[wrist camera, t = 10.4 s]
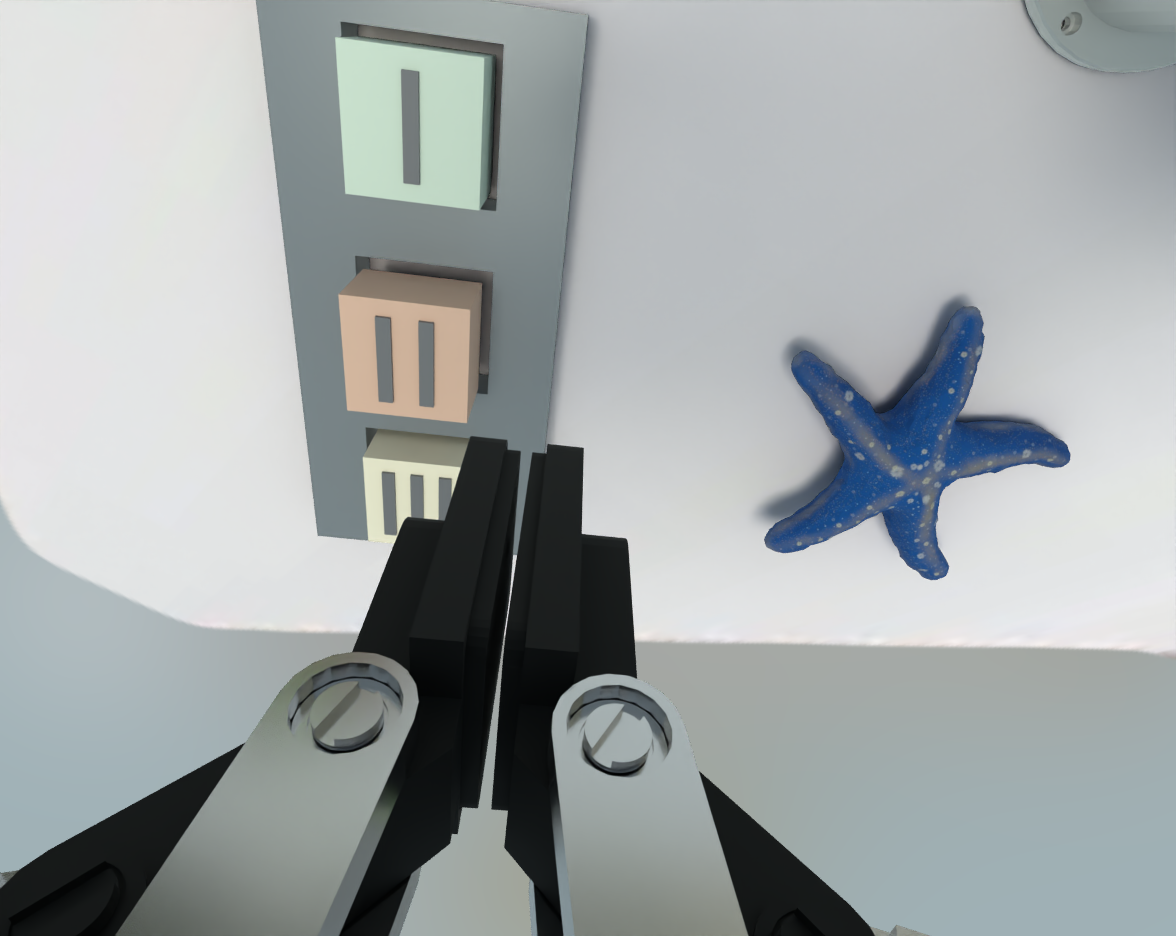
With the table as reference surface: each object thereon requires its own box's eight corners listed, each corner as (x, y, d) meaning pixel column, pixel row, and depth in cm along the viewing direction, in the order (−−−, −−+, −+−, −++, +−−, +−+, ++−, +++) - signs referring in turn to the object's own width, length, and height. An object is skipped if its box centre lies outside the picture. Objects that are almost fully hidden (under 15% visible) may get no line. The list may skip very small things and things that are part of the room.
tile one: (496, 55, 31) (483, 57, 28) (490, 193, 35) (478, 211, 31) (363, 36, 31) (333, 37, 28) (369, 177, 34) (343, 194, 31)
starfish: (1013, 552, 48) (1054, 602, 44) (746, 557, 49) (761, 607, 44) (1115, 289, 38) (1180, 321, 34) (777, 298, 39) (800, 331, 34)
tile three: (480, 433, 42) (470, 470, 39) (477, 512, 45) (467, 552, 42) (381, 422, 42) (361, 458, 38) (385, 502, 45) (367, 543, 41)
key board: (588, 15, 31) (588, 14, 29) (536, 533, 47) (533, 556, 45) (275, -30, 31) (252, -34, 28) (330, 512, 47) (317, 535, 44)
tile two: (482, 283, 35) (469, 311, 32) (478, 388, 38) (466, 425, 35) (363, 268, 35) (336, 295, 31) (369, 376, 38) (345, 412, 34)
